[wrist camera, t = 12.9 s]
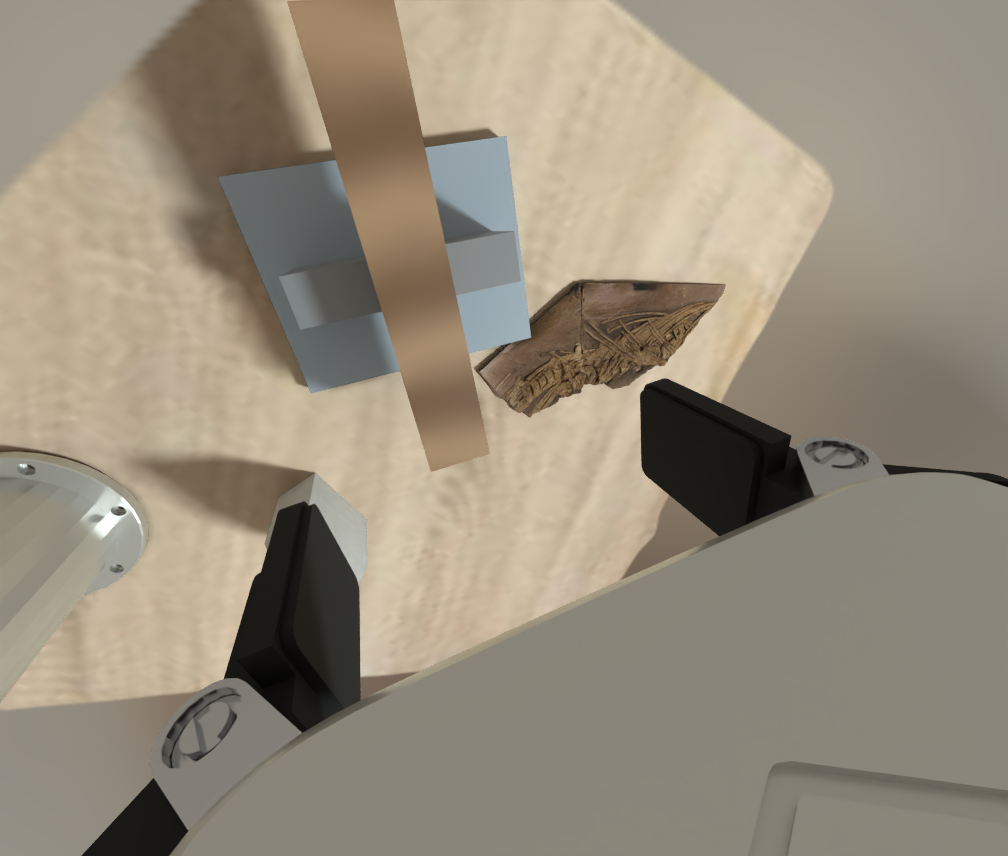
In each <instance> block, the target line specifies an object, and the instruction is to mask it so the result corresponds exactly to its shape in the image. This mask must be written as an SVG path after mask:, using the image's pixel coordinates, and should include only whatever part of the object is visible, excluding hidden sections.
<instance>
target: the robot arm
mask: <svg viewBox="0 0 1008 856" xmlns="http://www.w3.org/2000/svg"><path fill="white" fill-rule="evenodd" d="M640 411H641V462H642V469H643V471H644V473H645V475H646V476H647V477H648V478H649V479H651V480H652V481H653V482H654V483H656V484H657V485H658V486H659V487H660V488H662V489H663V490H664V491H665V492H666V493H668V494H669V495H670V496H671V497H672V498H674V499H675V500H676V501H677V502H679V503H680V504H681V505H682V506H683V507H685V508H686V509H687V510H688V511H690V512H691V513H692V514H693V515H694V516H695V517H697V518H698V519H699V520H700V521H702V522H703V523H704V524H705V525H706V526H708V527H709V528H710V529H711V530H712V531H714V532H715V533H716V534H717V535H718V536H719V537H717V538H715V539H713V540H710V541H708V542H706V543H704V544H701V545H699V546H697V547H695V548H692V549H690V550H688V551H685V552H683V553H681V554H679V555H676V556H674V557H672V558H670V559H667V560H665V561H663V562H661V563H659V564H656V565H654V566H652V567H649V568H647V569H645V570H643V571H640V572H638V573H636V574H634V575H631V576H629V577H627V578H625V579H623V580H620V581H618V582H616V583H614V584H611V585H609V586H607V587H605V588H602V589H600V590H598V591H596V592H594V593H591V594H589V595H587V596H585V597H582V598H580V599H578V600H576V601H573V602H571V603H569V604H567V605H565V606H562V607H560V608H558V609H556V610H553V611H551V612H549V613H547V614H545V615H542V616H540V617H538V618H536V619H534V620H531V621H529V622H527V623H525V624H523V625H520V626H518V627H516V628H514V629H512V630H509V631H507V632H505V633H503V634H501V635H498V636H496V637H494V638H492V639H490V640H487V641H485V642H483V643H481V644H479V645H476V646H474V647H472V648H470V649H468V650H465V651H463V652H461V653H459V654H457V655H454V656H452V657H450V658H448V659H446V660H444V661H442V662H439V663H437V664H435V665H433V666H431V667H429V668H427V669H425V670H423V671H420V672H418V673H416V674H414V675H412V676H410V677H408V678H406V679H404V680H401V681H399V682H397V683H395V684H393V685H391V686H389V687H387V688H385V689H383V690H380V691H378V692H376V693H374V694H372V695H370V696H368V697H366V698H364V699H362V700H360V608H359V585H358V581H357V578H356V576H355V574H354V572H353V570H352V568H351V566H350V565H349V563H348V561H347V559H346V557H345V556H344V554H343V552H342V550H341V548H340V546H339V545H338V543H337V541H336V539H335V537H334V536H333V534H332V532H331V530H330V528H329V526H328V525H327V523H326V521H325V519H324V517H323V516H322V514H321V512H320V510H319V508H318V507H317V505H316V504H312V505H308V504H307V503H306V502H304V501H303V502H300V503H297V504H294V505H291V506H288V507H285V508H282V509H280V510H279V511H278V514H277V517H276V521H275V524H274V528H273V532H272V535H271V539H270V542H269V546H268V549H267V553H266V556H265V560H264V564H263V567H262V571H261V573H259V574H258V575H256V576H255V578H254V580H253V582H252V586H251V589H250V592H249V596H248V599H247V603H246V606H245V609H244V613H243V616H242V619H241V623H240V626H239V630H238V633H237V636H236V640H235V643H234V646H233V650H232V653H231V656H230V660H229V663H228V667H227V670H226V673H225V677H224V680H221V681H218V682H215V683H212V684H211V685H209V686H207V687H205V688H204V689H202V690H200V691H199V692H197V693H196V694H195V695H194V696H192V697H191V698H190V699H189V700H187V701H186V702H185V703H184V704H183V705H182V706H181V707H180V708H179V709H178V710H177V711H176V712H175V713H174V715H173V716H172V717H171V718H170V719H169V721H168V722H167V723H166V725H165V726H164V728H163V729H162V731H161V732H160V733H159V736H158V738H157V740H156V742H155V744H154V746H153V748H152V752H151V757H150V763H149V765H150V769H151V773H152V776H153V777H154V778H153V779H152V780H151V781H150V783H149V784H148V785H147V786H146V787H145V788H144V789H143V790H142V791H141V792H140V793H139V794H138V796H136V798H135V799H134V800H133V801H132V802H131V803H130V804H129V805H128V806H127V807H126V808H125V809H124V811H123V812H122V813H121V814H120V815H119V816H118V817H117V818H116V819H115V820H114V821H113V822H112V824H111V825H110V826H109V827H108V828H107V829H106V830H105V831H104V832H103V833H102V834H101V835H100V836H99V838H98V839H97V840H96V841H95V842H94V843H93V844H92V845H91V846H90V847H89V848H88V849H87V850H86V851H85V853H84V854H83V855H82V856H1008V479H1006V478H1004V477H1001V476H998V475H994V474H989V473H973V472H965V471H953V470H941V469H929V468H918V467H907V466H895V465H883V464H882V463H881V462H880V460H879V458H878V457H877V456H876V455H875V454H874V453H873V452H872V451H871V450H870V449H868V448H867V447H865V446H863V445H861V444H858V443H856V442H853V441H850V440H845V439H841V438H833V437H815V438H810V439H806V440H804V441H803V442H801V443H799V445H798V446H797V449H796V450H795V449H793V448H791V447H789V445H790V440H791V435H788V434H786V433H784V432H782V431H780V430H777V429H776V428H773V427H771V426H769V425H767V424H765V423H762V422H760V421H758V420H756V419H754V418H752V417H749V416H747V415H745V414H743V413H741V412H738V411H736V410H734V409H732V408H730V407H728V406H725V405H723V404H721V403H719V402H717V401H715V400H712V399H710V398H708V397H706V396H704V395H701V394H699V393H697V392H695V391H693V390H691V389H688V388H686V387H684V386H682V385H680V384H678V383H675V382H673V381H671V380H669V379H661V380H658V381H655V382H652V383H649V384H647V385H646V386H645V388H644V391H642V392H641V394H640ZM148 536H149V531H148V522H147V519H146V516H145V514H144V511H143V509H142V508H141V506H140V505H139V503H138V502H137V501H136V499H135V498H134V497H133V496H132V495H131V494H130V493H129V492H128V491H127V490H126V489H125V488H124V487H123V486H122V485H120V484H119V483H117V482H116V481H114V480H113V479H111V478H110V477H108V476H107V475H105V474H103V473H101V472H99V471H97V470H95V469H93V468H91V467H89V466H86V465H83V464H80V463H77V462H74V461H71V460H68V459H65V458H60V457H56V456H51V455H46V454H40V453H29V452H18V451H15V452H0V703H1V702H2V700H3V699H4V698H5V696H6V695H7V694H8V692H9V691H10V690H11V688H12V687H13V686H14V685H15V683H16V682H17V681H18V679H19V678H20V677H21V675H22V674H23V673H24V672H25V670H26V669H27V668H28V666H29V665H30V664H31V662H32V661H33V660H34V659H35V657H36V656H37V655H38V653H39V652H40V651H41V649H42V648H43V647H44V646H45V644H46V643H47V642H48V640H49V639H50V638H51V636H52V635H53V634H54V632H55V631H56V630H57V629H58V627H59V626H60V625H61V623H62V622H63V621H64V619H65V618H66V617H67V616H68V614H69V613H70V612H71V610H72V609H73V608H74V606H75V605H76V604H77V603H78V601H79V600H80V599H81V597H82V596H83V595H87V594H90V593H93V592H95V591H98V590H101V589H103V588H106V587H108V586H109V585H111V584H113V583H115V582H116V581H118V580H120V579H121V578H122V577H123V576H124V575H126V574H127V573H128V572H129V571H130V570H131V569H132V568H133V567H134V565H135V564H136V562H137V561H138V560H139V558H140V557H141V555H142V553H143V551H144V550H145V548H146V545H147V541H148Z"/></svg>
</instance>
